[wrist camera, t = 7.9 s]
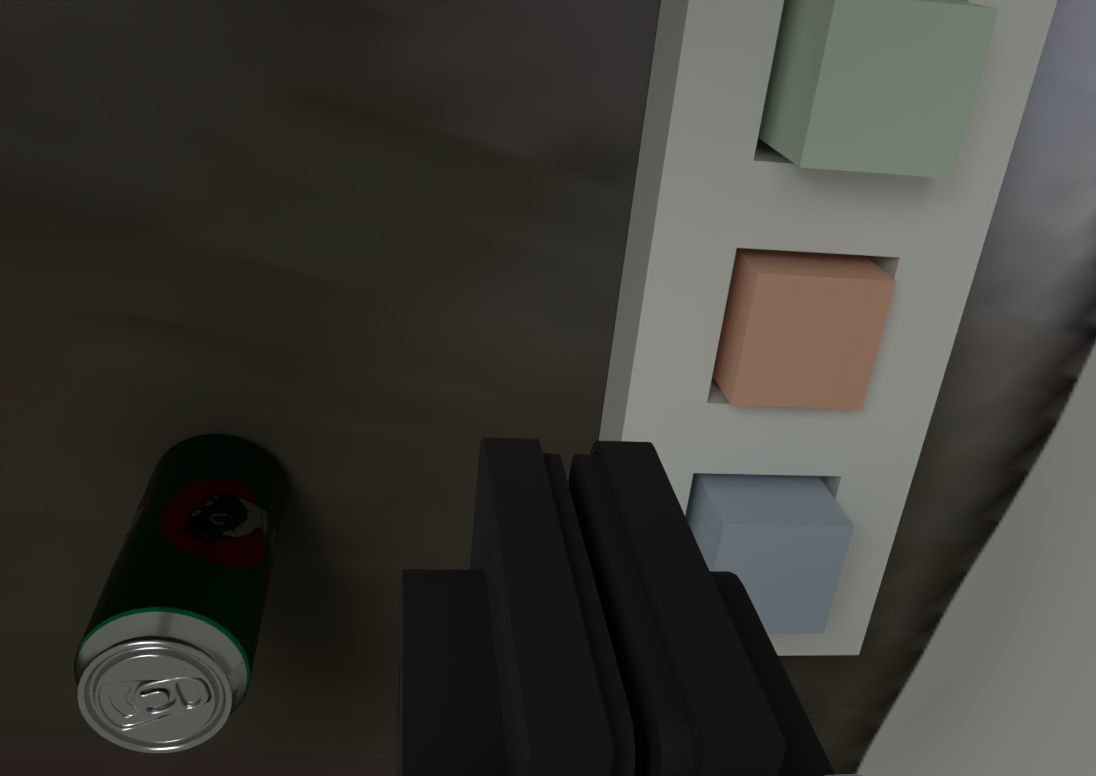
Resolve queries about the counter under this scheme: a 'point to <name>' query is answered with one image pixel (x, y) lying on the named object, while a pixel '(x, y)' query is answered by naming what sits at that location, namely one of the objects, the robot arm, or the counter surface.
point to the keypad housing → (807, 226)
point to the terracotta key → (801, 329)
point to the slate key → (773, 542)
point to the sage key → (875, 83)
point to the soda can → (184, 599)
